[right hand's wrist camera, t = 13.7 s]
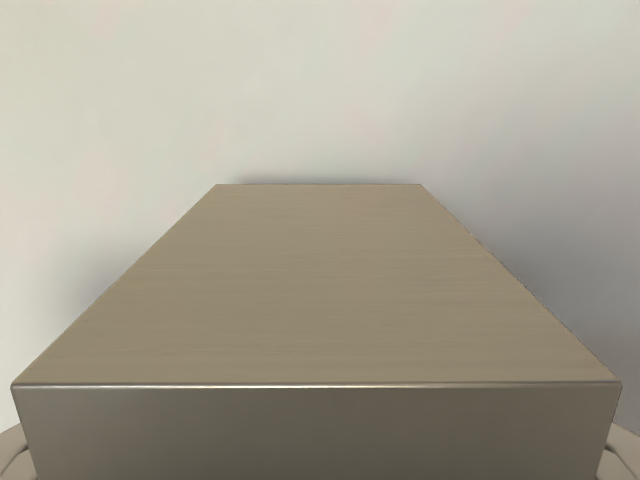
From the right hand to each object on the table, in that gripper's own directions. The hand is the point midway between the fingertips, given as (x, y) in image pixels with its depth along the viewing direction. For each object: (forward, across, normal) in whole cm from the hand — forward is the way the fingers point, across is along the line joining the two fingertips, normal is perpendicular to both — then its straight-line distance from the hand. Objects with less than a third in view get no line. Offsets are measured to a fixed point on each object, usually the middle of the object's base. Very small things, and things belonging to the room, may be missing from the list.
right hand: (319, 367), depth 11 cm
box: (+4, 0, -10) cm, 11 cm away
